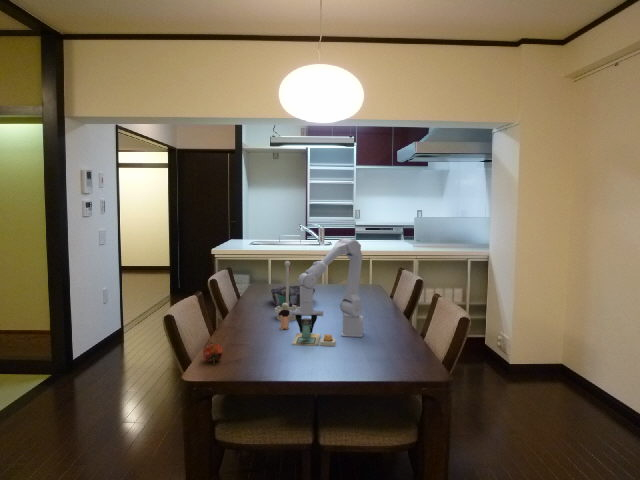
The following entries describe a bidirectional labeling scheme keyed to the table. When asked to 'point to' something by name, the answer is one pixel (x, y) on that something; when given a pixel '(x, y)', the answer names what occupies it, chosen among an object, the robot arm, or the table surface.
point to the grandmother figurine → (284, 317)
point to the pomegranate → (213, 352)
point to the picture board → (306, 340)
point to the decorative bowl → (280, 295)
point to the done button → (328, 337)
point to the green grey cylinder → (306, 328)
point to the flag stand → (287, 296)
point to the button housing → (327, 342)
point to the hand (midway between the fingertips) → (306, 332)
